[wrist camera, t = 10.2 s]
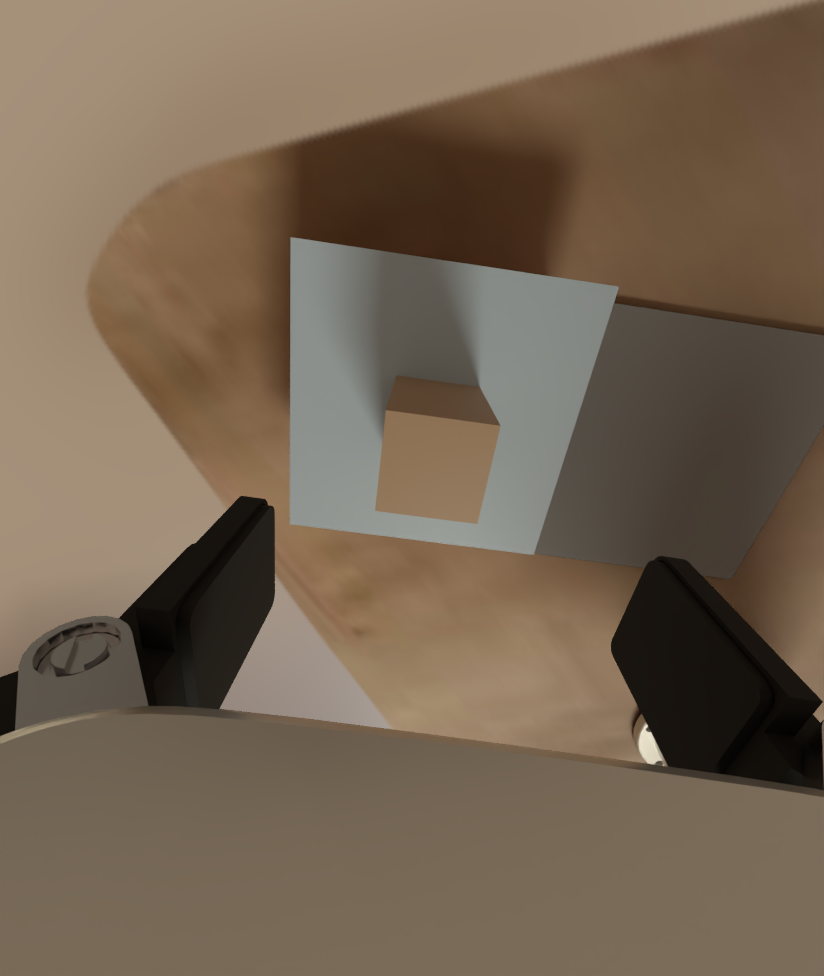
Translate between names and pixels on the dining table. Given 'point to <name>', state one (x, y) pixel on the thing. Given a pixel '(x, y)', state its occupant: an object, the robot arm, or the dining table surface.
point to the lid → (433, 393)
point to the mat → (684, 440)
